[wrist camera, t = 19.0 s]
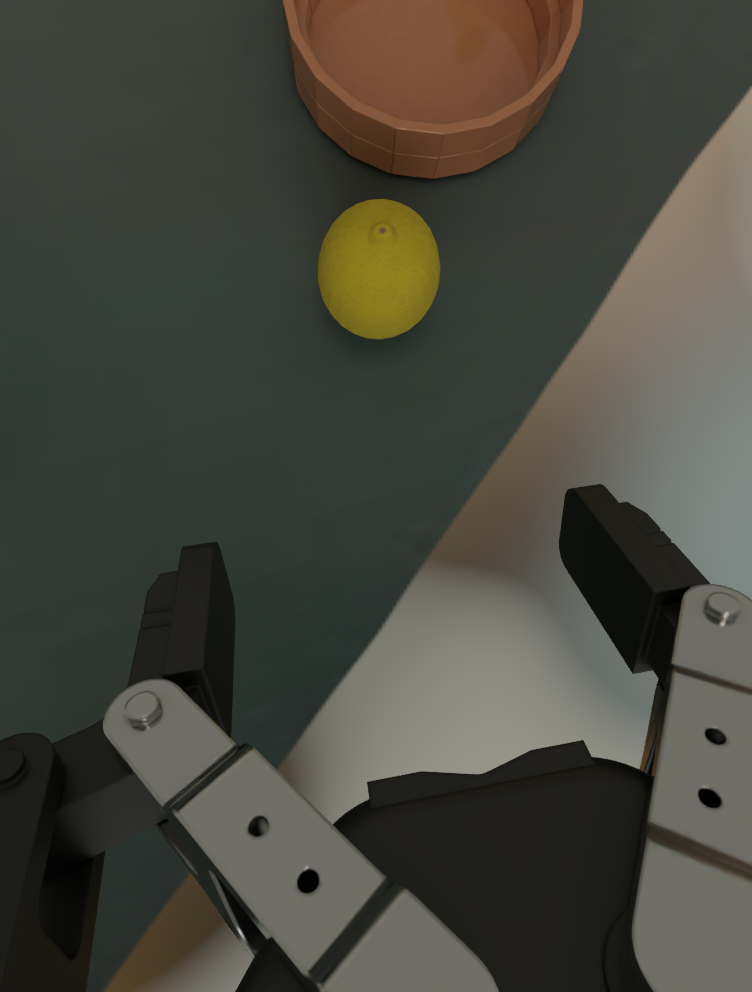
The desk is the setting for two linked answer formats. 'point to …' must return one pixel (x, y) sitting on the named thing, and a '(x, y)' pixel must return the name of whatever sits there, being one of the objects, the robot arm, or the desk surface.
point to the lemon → (378, 269)
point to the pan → (428, 76)
